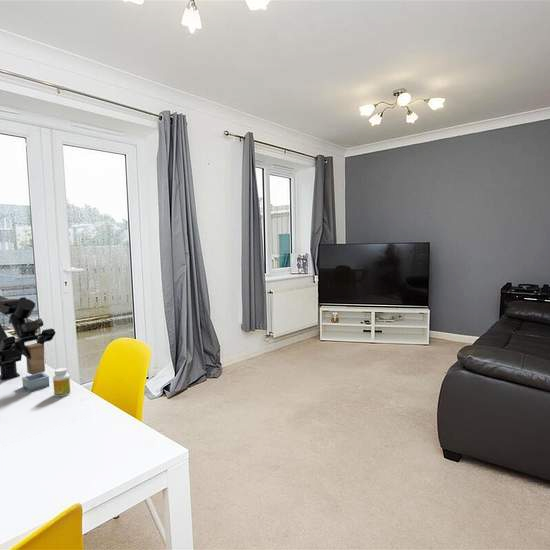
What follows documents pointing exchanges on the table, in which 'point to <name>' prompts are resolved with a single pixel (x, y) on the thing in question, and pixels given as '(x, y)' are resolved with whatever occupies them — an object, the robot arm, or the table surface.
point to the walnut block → (35, 359)
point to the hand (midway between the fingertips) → (36, 356)
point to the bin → (35, 381)
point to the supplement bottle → (61, 382)
